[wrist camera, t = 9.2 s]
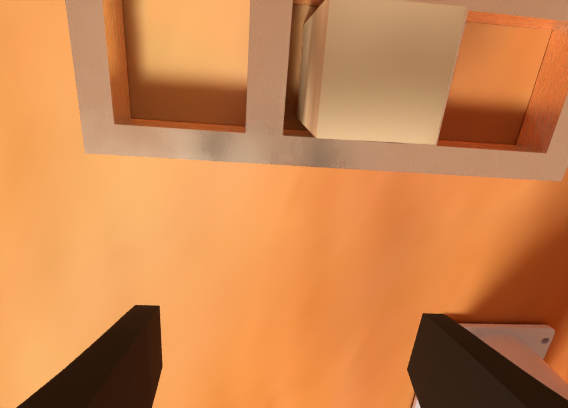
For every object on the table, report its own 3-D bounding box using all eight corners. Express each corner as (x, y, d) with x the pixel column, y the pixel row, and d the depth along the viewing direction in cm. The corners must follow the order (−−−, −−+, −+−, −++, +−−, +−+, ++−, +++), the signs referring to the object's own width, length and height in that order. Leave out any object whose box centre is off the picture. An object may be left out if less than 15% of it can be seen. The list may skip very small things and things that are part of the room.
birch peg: (376, 121, 17) (435, 144, 11) (296, 117, 16) (316, 137, 11) (390, 32, 15) (466, 6, 10) (303, 24, 15) (329, -7, 9)
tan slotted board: (530, 170, 18) (562, 181, 16) (105, 144, 16) (85, 153, 14) (588, 0, 15) (634, -10, 14) (83, -57, 13) (55, -79, 11)
